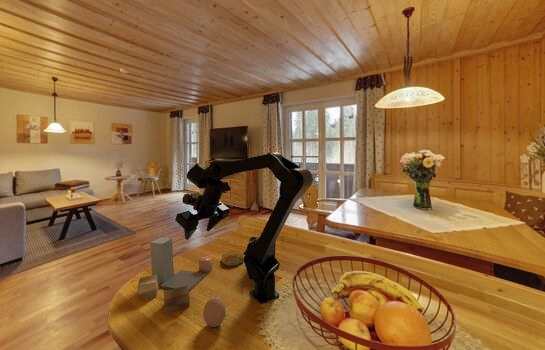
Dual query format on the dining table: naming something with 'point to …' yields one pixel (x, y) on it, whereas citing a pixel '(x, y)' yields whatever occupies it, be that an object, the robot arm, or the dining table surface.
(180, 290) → the walnut brick
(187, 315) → the dining table surface
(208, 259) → the pink rounded pebble
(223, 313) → the mauve oval ball
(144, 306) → the dining table surface
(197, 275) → the coaster
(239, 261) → the bread roll
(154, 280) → the beech cube
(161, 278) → the tall block
